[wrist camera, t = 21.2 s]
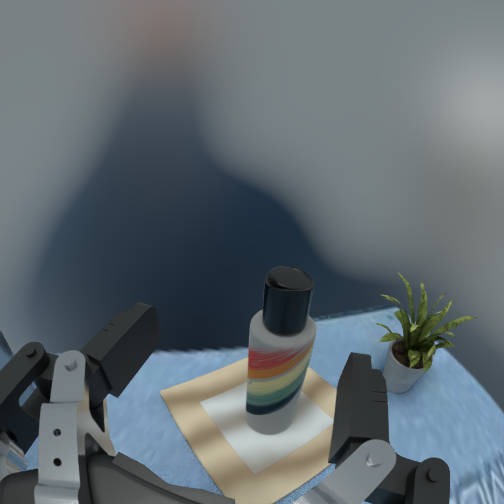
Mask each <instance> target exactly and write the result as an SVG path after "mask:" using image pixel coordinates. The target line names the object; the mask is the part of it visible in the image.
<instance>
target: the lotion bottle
mask: <svg viewBox="0 0 504 504" xmlns="http://www.w3.org/2000/svg"><path fill="white" fill-rule="evenodd" d="M313 288H314V282H313V280H312V278H311V277H310V276H309V274H307V273H306V272H305V271H303V270H302V269H299V268H297V267H293V266H282V267H281V266H280V267H275V268H273V269H272V270H271V272H269V273H268V274H267V276H266V278H265V284H264V299H263V300H264V301H263V310H261V311H259V312H258V313H257V314H256V315H255V316H254V317H253V318H252V321H251V324H250V335H249V354H248V374H247V394H246V419H247V422H248V424H249V425H250V426H251V427H252V428H253V429H254V430H255V431H257V432H259V433H262V434H277V433H280V432H282V431H284V430H285V429H286V428H287V427H288V426H289V425H290V423H291V421H292V419H293V416H294V413H295V410H296V407H297V404H298V400H299V397H300V393H301V390H302V386H303V383H304V379H305V376H306V372H307V368H308V365H309V361H310V357H311V353H312V349H313V345H314V340H315V336H316V325H315V323H314V321H313V319H312V318H311V317H310V316H309V315H308V314H309V309H310V304H311V299H312V294H313Z"/></svg>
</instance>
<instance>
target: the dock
mask: <svg viewBox="0 0 504 504" xmlns="http://www.w3.org/2000/svg"><path fill="white" fill-rule="evenodd" d="M247 374H248V357H247V358H244V359H242V360H240V361H237V362H235V363H233V364H230V365H228V366H226V367H223V368H221V369H218V370H216V371H213V372H211V373H208V374H206V375H203V376H200V377H198V378H195V379H193V380H190V381H187V382H185V383H182V384H179V385H176V386H173V387H171V388H168V389H165V390H162V391H160V394H161V396H162V398H163V400H164V402H165V404H166V406H167V408H168V410H169V411H170V413H171V415H172V417H173V419H174V420H175V422H176V424H177V426H178V427H179V429H180V431H181V433H182V434H183V436H184V438H185V439H186V441H187V443H188V444H189V446H190V447H191V449H192V451H193V452H194V454H195V455H196V457H197V458H198V460H199V461H200V463H201V464H202V466H203V467H204V469H205V470H206V472H207V473H208V475H209V476H210V477H211V479H212V480H213V482H214V483H215V484H216V486H217V487H218V489H219V490H220V491H221V493H222V494H223V495H224V496H225V497H229V498H233V499H235V504H274V503H276V502H277V501H279V500H281V499H282V498H284V497H285V496H287V495H289V494H290V493H292V492H293V491H295V490H296V489H298V488H299V487H301V486H302V485H304V484H305V483H307V482H308V481H310V480H311V479H312V478H314V477H315V476H316V475H318V474H319V473H321V472H322V471H323V470H325V469H326V468H327V467H328V466H330V465H331V464H332V463H328V458H329V451H330V444H331V437H332V430H333V422H334V413H335V403H336V393H337V390H336V389H335V388H334V387H332V386H331V385H330V384H329V383H328V382H326V381H325V380H324V379H323V378H322V377H320V376H319V375H318V374H317V373H316V372H314V371H313V370H312V369H311V368H310V367H309V366H308V368H307V372H306V376H305V379H304V383H303V386H302V390H301V393H300V397H299V400H298V404H297V407H296V410H295V413H294V416H293V419H292V421H291V423H290V425H289V426H288V427H287V428H286V429H285V430H284V431H282V432H280V433H277V434H262V433H259V432H257V431H255V430H254V429H253V428H252V427H251V426H250V425H249V424H248V422H247V419H246V394H247Z"/></svg>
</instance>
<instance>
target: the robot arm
mask: <svg viewBox="0 0 504 504" xmlns="http://www.w3.org/2000/svg"><path fill="white" fill-rule="evenodd" d="M160 337H161V333H160V328H159V323H158V317H157V312H156V309H155V307H153V306H150V305H146V304H143V303H140V302H138V303H136V304H135V305H134V306H133V307H132V308H131V309H130V310H129V311H128V310H126V311H124V312H122V313H120V314H118V315H116V316H115V317H114V318H113V319H112V320H111V321H110V322H109V324H107V325H106V326H105V327H104V328H103V330H101V331H100V332H99V333H98V334H97V335H96V336H94V337H93V339H91V340H90V341H89V342H88V344H87V345H86V346H85V347H84V348H83V349H82V350H80V351H79V352H78V351H67V352H64V353H63V354H61V355H60V356H58V355H53V354H49V353H46V351H45V349H44V347H43V345H42V344H41V343H39V342H30V343H28V344H26V345H25V346H24V347H22V348H21V349H20V351H18V353H17V354H15V356H14V354H13V352H12V351H11V349H10V347H9V345H8V343H7V341H6V339H5V338H4V336H3V334H2V332H1V331H0V504H235V499H233V498H229V497H225V496H222V495H219V494H215V493H212V492H209V491H206V490H203V489H195V488H188V487H182V486H176V485H171V484H168V483H167V482H165V481H164V480H162V479H161V478H160V477H158V476H157V475H156V474H155V473H153V472H152V471H151V470H150V469H148V468H147V467H146V466H145V465H143V464H141V463H139V462H137V461H135V460H133V459H131V458H130V457H128V456H126V455H124V454H122V453H120V452H118V454H117V455H116V454H115V450H114V447H113V445H112V442H111V440H110V436H109V427H108V414H107V400H106V398H105V397H106V396H107V395H108V394H111V395H113V396H115V397H117V398H118V397H119V396H120V394H121V393H122V392H123V390H124V389H125V388H126V386H127V385H128V384H129V382H130V381H131V380H132V379H133V377H134V376H135V375H136V373H137V372H138V371H139V369H140V368H141V367H142V366H143V364H144V363H145V362H146V360H147V359H148V358H149V356H150V355H151V354H152V353H153V351H154V350H155V349H156V347H157V346H158V344H159V342H160ZM32 382H34V383H35V385H36V386H37V388H36V389H35V390H33V387H32V385H31V383H32ZM386 394H387V386H386V380H385V378H384V376H383V374H382V372H381V370H377V369H372V367H371V356H370V355H367V354H359V353H352V352H351V353H350V355H349V358H348V360H347V362H346V365H345V367H344V369H343V372H342V374H341V376H340V379H339V382H338V386H337V393H336V403H335V413H334V422H333V430H332V437H331V444H330V451H329V458H328V463H332V464H336V466H335V470H334V471H333V472H332V473H331V474H330V475H328V476H327V477H326V478H325V479H324V480H322V481H321V482H320V483H319V484H318V485H316V486H315V487H313V488H312V489H311V490H309V491H308V492H306V493H305V494H304V495H302V496H301V497H300V498H298V499H297V500H296V501H294V502H293V503H291V504H361V503H362V502H363V501H366V502H369V503H372V504H449V497H450V470H449V467H448V465H447V464H446V463H445V462H444V461H443V460H442V459H439V458H428V459H426V460H424V461H423V462H422V463H420V462H417V461H413V460H410V459H407V458H404V457H401V456H400V455H398V454H397V453H396V452H395V450H394V448H393V447H392V446H391V445H390V442H389V425H388V404H387V402H388V401H387V395H386ZM38 435H39V442H38V469H33V470H28V471H22V472H21V470H25V469H26V468H27V462H26V460H25V459H24V455H25V454H26V452H27V451H28V450H29V448H30V447H31V445H32V444H33V442H34V441H35V439H36V438H37V437H38Z"/></svg>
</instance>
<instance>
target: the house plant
mask: <svg viewBox="0 0 504 504" xmlns="http://www.w3.org/2000/svg"><path fill="white" fill-rule="evenodd" d="M398 274H399V273H398ZM399 275H400V276H401V277H402V279H403V280H404V282H405V284H406V287H407V291H408V297H409V305H410V311H411V323H410V320H409V317H408V315H407V312H406V311H402V310H400V311H396V312H395V313H394V314H395V316H396V317H397V318H398V320H399V321H400V322H401V324H402V328H403V334H404V337H402V336H401V335H400V334H398V333H392V332H391V331H390V329H389V328H388V327H387V326H385V325H382V324H378V323H375V324H377V325H380V326H383V327H384V328H386V329H387V330H388V331H389V332H390V333H387V334H386V335H385V336H384V337H383V338H382V339H381V340H380V341H379V342H387V341H392V340H393V341H392V342H391V344H390V347H389V351H388V355H387V359H386V363H385V366H384V370H383V376H384V378H385V380H386V386H387V390H389V391H390V392H393V393H404V392H406V391H407V390H408V389H409V388H410V387H411V386H412V385H413V384H414V383H415V382H416V381H417V380H418V379H419V377H420V376H421V375H422V374H423V375H424V373H425V372H426V371H427V370H428V369H429V368H430V367H431V365H432V358H433V356H432V355H434V354H435V352H436V349H438V348H442V347H451V346H452V347H453V345H452V344H451V343H450V342H449V341H448V340H446V339H444V338H442V337H439V336H438V335H439V334H442V333H443V332H444V331H446V330H448V329H451V328H453V327H455V326H458V325H459V324H461V323H462V322H464V321H466V320H471V319H474V318H475V317H471V316H466V317H461V318H458V319H455V320H454V321H451V322H448V323H446V324H445V325H443V326H441V327H440V328H439V329H438V330H437V331H435V332H434V333H432V334H431V335H429V334H430V333H431V331H432V330H433V329H434V328H435V327H436V325H437V324H438V323H439V322H440V321H441V319H442V318H443V317H444V316H445V315H446V313H447V311H448V310H449V307H450V306H451V304H452V301H453V299H452V300H451V301H450V302H449V304H448V305H447V306H446V307H445V308H444V309H443V311H441V314H440V315H439V316H437V315H434V314H433V315H431V316H429V315H428V316H429V317H427V319H426V320H425V317H426V312H427V296H426V292H425V289H424V284H423V283H422V284H421V288H422V295H421V300H420V304H419V309H418V316H417V321H416V325H415V320H414V310H413V299H412V292H411V288H410V285H409V283H408V282H407V280H406V279H405V278H404V277H403V276H402V275H401V274H399ZM444 295H445V294H444ZM444 295H443V296H444ZM383 296H386V295H383ZM443 296H441V297H443ZM386 297H389V298H392V297H390V296H386ZM441 297H440V298H439V299H438V301H439V300H440V299H441ZM386 299H388V298H386ZM392 299H394V300H396V299H395V298H392ZM389 300H391V299H389ZM392 301H393V300H392ZM396 301H397V302H399V301H398V300H396ZM438 301H437V302H438ZM393 302H394V301H393ZM437 302H436V303H435V305H436V304H437ZM394 303H395V302H394ZM399 303H400V302H399ZM435 305H434V307H435ZM434 307H433V308H434ZM403 308H404V307H403ZM433 308H432V310H433ZM399 309H400V308H399ZM404 310H405V309H404ZM432 310H431V311H432ZM431 311H430V313H431ZM430 313H429V314H430ZM437 313H439V312H437ZM445 333H447V334H450V335H452V336H454V334H453V333H451V332H445ZM428 335H429V336H428ZM427 336H428V337H427ZM454 337H455V336H454ZM437 340H444V341H446V342H443V343H439V344H437V345H435V343H434V342H435V341H437Z"/></svg>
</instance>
